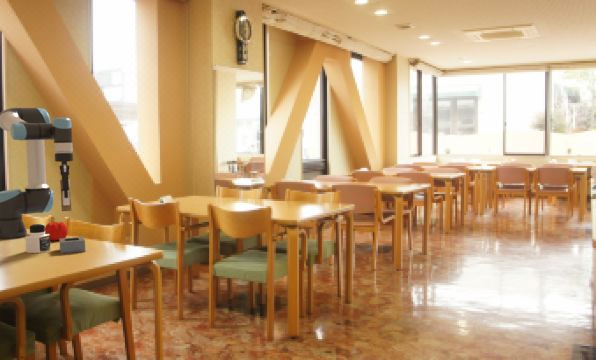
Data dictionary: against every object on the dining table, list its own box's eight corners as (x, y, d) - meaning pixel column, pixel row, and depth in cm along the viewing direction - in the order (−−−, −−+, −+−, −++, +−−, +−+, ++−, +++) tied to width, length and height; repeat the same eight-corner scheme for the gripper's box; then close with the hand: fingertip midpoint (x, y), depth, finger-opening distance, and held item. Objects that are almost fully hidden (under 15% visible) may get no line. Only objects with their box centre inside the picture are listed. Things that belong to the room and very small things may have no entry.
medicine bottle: (40, 253, 237) (39, 225, 236) (25, 252, 239) (24, 225, 238) (50, 250, 244) (49, 223, 243) (36, 249, 246) (35, 222, 245)
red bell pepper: (50, 238, 272) (49, 220, 272) (72, 238, 272) (71, 220, 271) (39, 242, 262) (39, 224, 261) (62, 242, 261) (61, 224, 261)
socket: (59, 249, 245) (59, 238, 244) (83, 247, 249) (83, 236, 248) (60, 254, 236) (59, 242, 235) (85, 251, 240) (84, 240, 239)
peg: (61, 210, 248) (60, 179, 247) (71, 209, 250) (69, 179, 249) (61, 211, 244) (60, 180, 244) (71, 210, 246) (70, 179, 245)
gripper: (54, 152, 251) (56, 203, 253) (54, 153, 236) (57, 207, 238) (71, 152, 255) (74, 202, 256) (73, 152, 239) (76, 205, 241)
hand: (66, 204), depth 247 cm, fingers closed on peg, 4 cm apart
